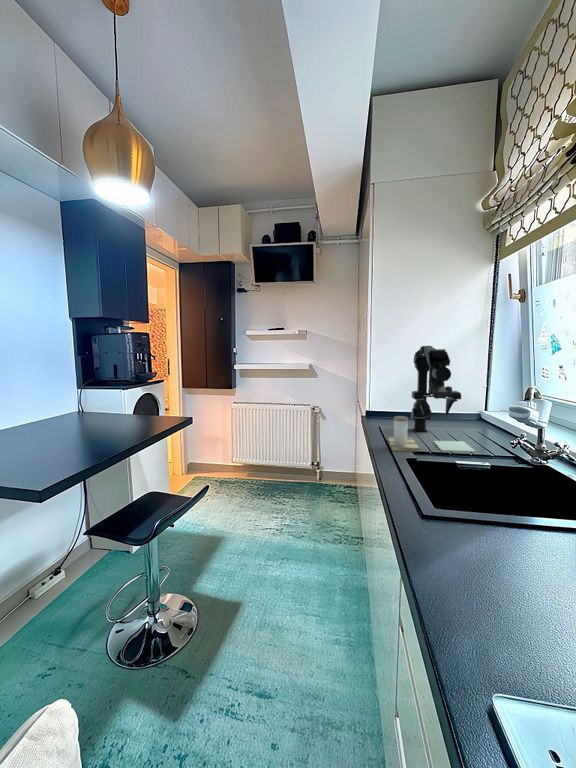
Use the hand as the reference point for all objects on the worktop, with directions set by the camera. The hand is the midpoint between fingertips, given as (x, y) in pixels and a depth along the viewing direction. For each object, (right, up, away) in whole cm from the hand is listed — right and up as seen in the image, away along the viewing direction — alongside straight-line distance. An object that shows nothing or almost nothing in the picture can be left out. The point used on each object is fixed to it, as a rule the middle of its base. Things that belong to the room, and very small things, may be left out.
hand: (435, 414), depth 139 cm
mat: (+9, -14, +2) cm, 17 cm away
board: (-12, -14, +5) cm, 20 cm away
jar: (-14, -13, +3) cm, 20 cm away
